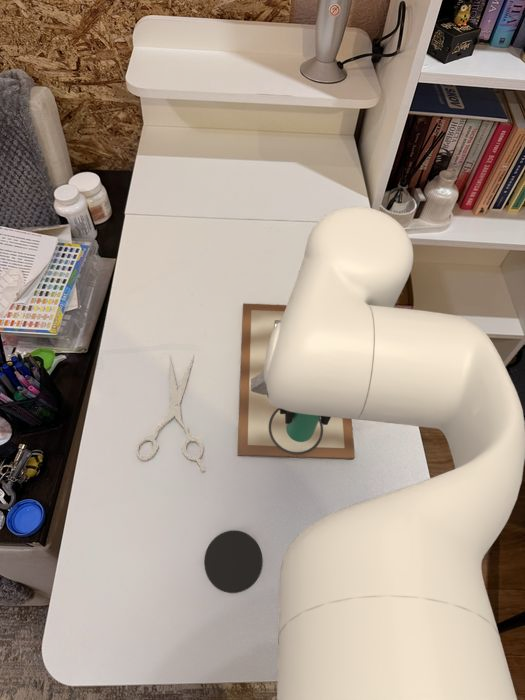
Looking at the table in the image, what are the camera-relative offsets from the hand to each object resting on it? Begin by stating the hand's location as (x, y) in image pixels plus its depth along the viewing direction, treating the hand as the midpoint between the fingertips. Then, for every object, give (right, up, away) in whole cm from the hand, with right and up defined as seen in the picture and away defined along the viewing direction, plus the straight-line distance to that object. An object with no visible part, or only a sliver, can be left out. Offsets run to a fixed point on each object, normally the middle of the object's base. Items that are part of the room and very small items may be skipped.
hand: (305, 411), depth 61 cm
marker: (0, -3, +6) cm, 7 cm away
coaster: (-9, -22, +10) cm, 26 cm away
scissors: (-19, -2, +21) cm, 28 cm away
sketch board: (0, +3, +25) cm, 25 cm away
